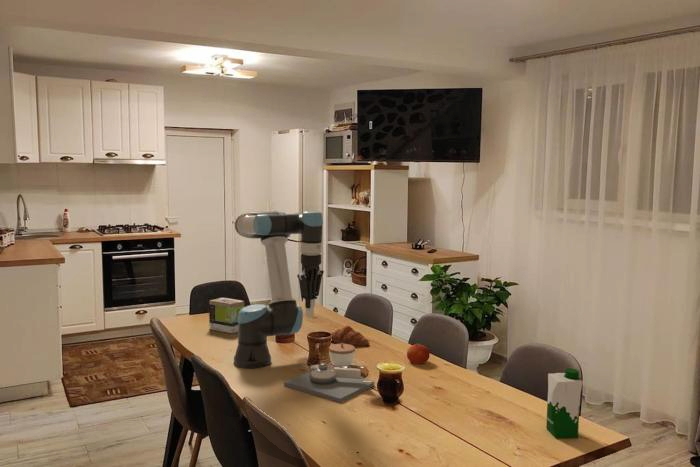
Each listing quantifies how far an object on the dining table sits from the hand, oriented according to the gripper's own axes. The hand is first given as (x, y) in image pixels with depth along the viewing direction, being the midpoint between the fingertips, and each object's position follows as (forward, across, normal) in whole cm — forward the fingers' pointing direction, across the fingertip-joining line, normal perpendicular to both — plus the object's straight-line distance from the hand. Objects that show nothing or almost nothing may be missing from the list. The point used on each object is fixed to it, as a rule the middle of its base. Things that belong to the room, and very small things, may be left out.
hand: (309, 316), depth 222 cm
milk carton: (+23, +13, -90) cm, 94 cm away
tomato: (+26, +46, -22) cm, 57 cm away
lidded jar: (+26, +23, 0) cm, 35 cm away
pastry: (+28, +51, +17) cm, 60 cm away
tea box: (+29, +32, +77) cm, 89 cm away
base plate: (+25, +1, -9) cm, 27 cm away
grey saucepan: (+23, +4, -11) cm, 26 cm away
